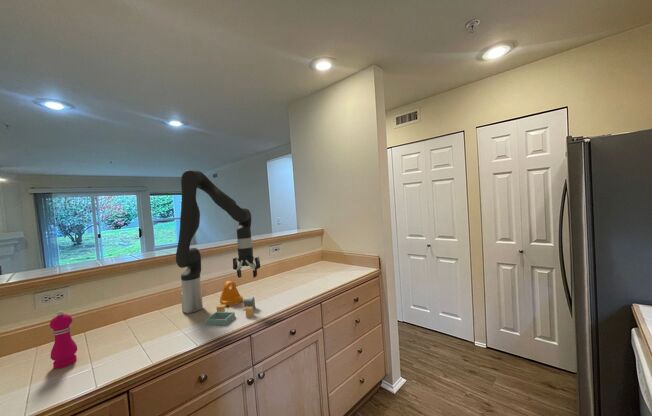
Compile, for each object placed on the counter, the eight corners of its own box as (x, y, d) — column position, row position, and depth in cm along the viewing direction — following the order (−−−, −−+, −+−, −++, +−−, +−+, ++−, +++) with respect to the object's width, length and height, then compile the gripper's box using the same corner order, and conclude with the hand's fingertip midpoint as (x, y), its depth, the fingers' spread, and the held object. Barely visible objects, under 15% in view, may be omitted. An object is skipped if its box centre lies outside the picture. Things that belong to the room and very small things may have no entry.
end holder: (206, 324, 126) (205, 319, 126) (216, 316, 134) (215, 311, 134) (225, 325, 124) (225, 319, 124) (235, 317, 132) (234, 312, 132)
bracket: (224, 307, 146) (222, 285, 145) (220, 304, 151) (218, 283, 151) (243, 301, 152) (242, 280, 152) (238, 298, 158) (237, 278, 158)
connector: (244, 310, 140) (243, 299, 139) (248, 307, 144) (247, 296, 143) (251, 310, 139) (250, 299, 139) (255, 307, 143) (254, 296, 143)
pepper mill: (83, 357, 104) (78, 306, 104) (66, 368, 97) (60, 314, 96) (64, 358, 104) (59, 307, 103) (45, 370, 97) (40, 316, 96)
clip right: (253, 314, 134) (252, 306, 134) (250, 317, 131) (250, 309, 131) (246, 314, 135) (246, 306, 134) (243, 317, 132) (243, 309, 131)
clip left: (217, 314, 137) (216, 306, 136) (220, 312, 140) (219, 304, 139) (223, 314, 136) (223, 307, 136) (226, 312, 139) (226, 304, 139)
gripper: (228, 248, 138) (231, 279, 138) (254, 247, 135) (256, 279, 136) (236, 245, 145) (238, 275, 146) (260, 244, 142) (263, 275, 143)
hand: (247, 277), depth 141 cm, fingers open, 8 cm apart
